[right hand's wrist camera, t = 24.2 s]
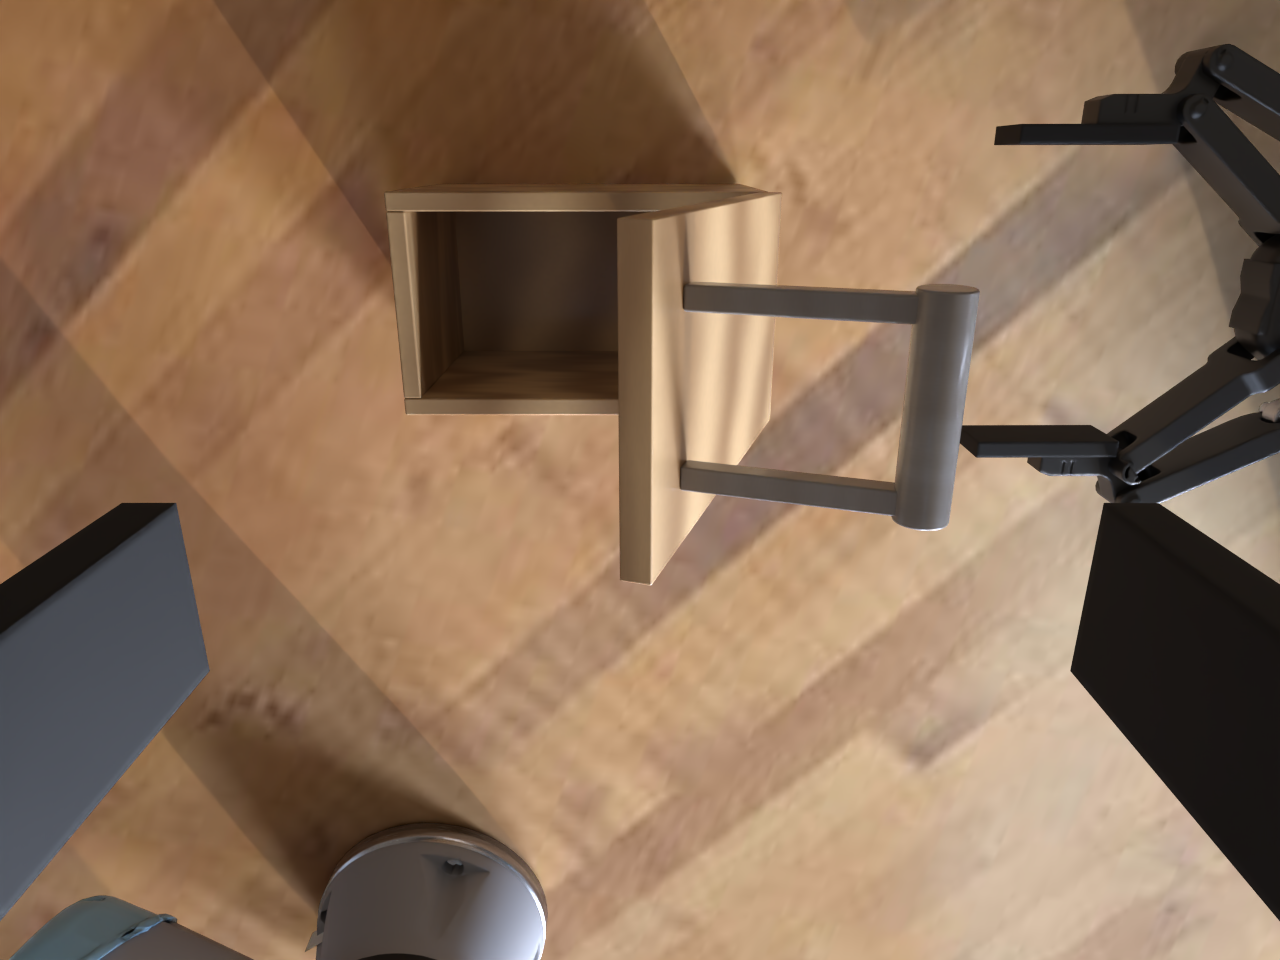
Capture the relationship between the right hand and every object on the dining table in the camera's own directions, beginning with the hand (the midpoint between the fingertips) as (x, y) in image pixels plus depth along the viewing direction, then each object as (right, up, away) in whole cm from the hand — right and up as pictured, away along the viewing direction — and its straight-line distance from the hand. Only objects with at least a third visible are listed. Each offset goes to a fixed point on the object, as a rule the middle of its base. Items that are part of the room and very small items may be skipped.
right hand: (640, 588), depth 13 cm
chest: (-2, +12, +33) cm, 35 cm away
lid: (+2, +6, +16) cm, 17 cm away
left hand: (+16, +10, +27) cm, 32 cm away
